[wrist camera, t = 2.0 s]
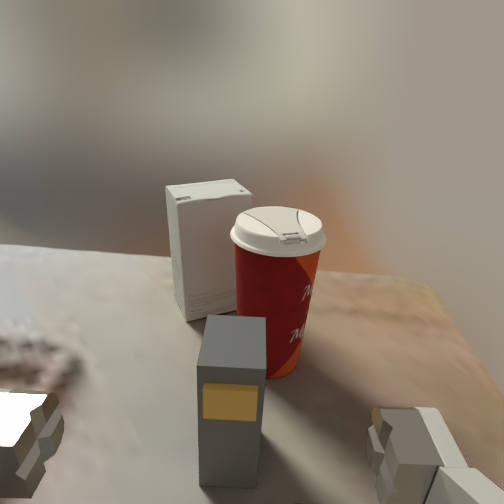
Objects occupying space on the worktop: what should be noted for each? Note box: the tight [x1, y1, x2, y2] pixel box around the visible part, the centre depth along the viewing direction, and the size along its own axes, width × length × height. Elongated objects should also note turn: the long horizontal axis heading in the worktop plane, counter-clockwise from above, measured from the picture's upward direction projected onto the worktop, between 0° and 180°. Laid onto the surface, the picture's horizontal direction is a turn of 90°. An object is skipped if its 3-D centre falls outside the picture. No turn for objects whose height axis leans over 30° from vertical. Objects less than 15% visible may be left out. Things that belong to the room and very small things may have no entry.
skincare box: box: [166, 179, 253, 322], centre depth 44 cm, size 8×6×15 cm
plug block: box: [197, 315, 266, 488], centre depth 26 cm, size 4×6×11 cm
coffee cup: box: [230, 206, 326, 379], centre depth 35 cm, size 8×8×15 cm
